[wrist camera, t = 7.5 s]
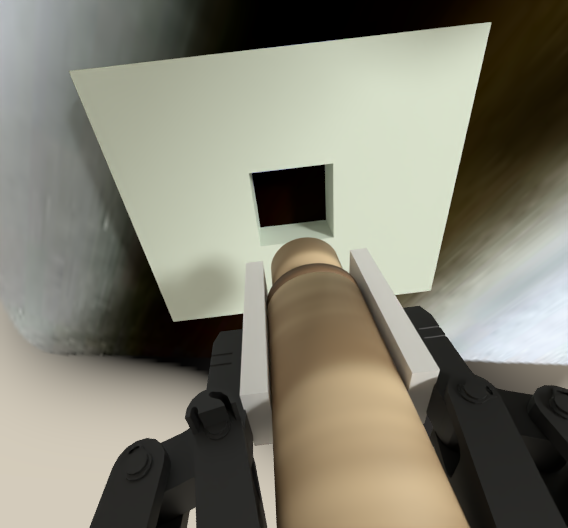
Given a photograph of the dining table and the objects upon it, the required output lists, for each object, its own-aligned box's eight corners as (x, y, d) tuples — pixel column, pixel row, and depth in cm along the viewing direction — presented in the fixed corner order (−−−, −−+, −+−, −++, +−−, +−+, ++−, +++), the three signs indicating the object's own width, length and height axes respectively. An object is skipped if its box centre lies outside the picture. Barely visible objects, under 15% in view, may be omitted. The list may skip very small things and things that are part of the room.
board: (94, 69, 18) (68, 71, 16) (459, 27, 18) (491, 21, 16) (180, 298, 28) (173, 321, 26) (415, 270, 28) (430, 290, 26)
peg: (259, 237, 14) (269, 658, 4) (344, 226, 14) (561, 617, 4) (270, 302, 16) (293, 679, 6) (343, 293, 16) (483, 652, 6)
